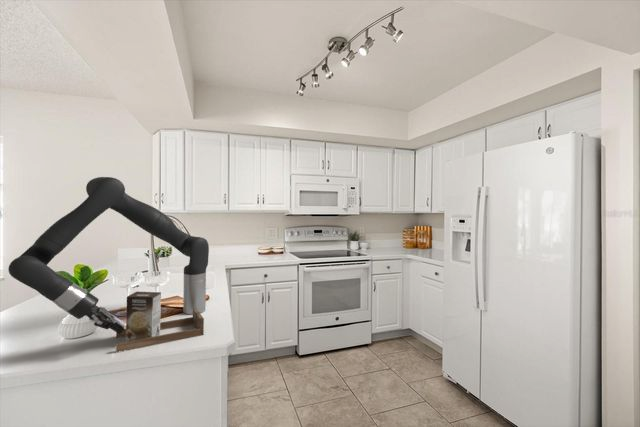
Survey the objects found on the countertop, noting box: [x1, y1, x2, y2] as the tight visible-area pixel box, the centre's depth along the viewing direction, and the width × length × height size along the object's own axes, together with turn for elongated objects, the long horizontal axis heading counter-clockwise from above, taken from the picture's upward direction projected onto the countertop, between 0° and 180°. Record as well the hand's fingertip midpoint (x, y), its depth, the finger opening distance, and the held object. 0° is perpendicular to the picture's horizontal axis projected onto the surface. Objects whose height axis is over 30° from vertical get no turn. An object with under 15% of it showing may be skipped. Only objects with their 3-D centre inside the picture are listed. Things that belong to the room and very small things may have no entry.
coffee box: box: [125, 291, 162, 342], centre depth 107 cm, size 9×6×16 cm
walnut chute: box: [115, 308, 205, 353], centre depth 110 cm, size 14×27×6 cm, turn 123°
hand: (122, 330), depth 104 cm, fingers closed
